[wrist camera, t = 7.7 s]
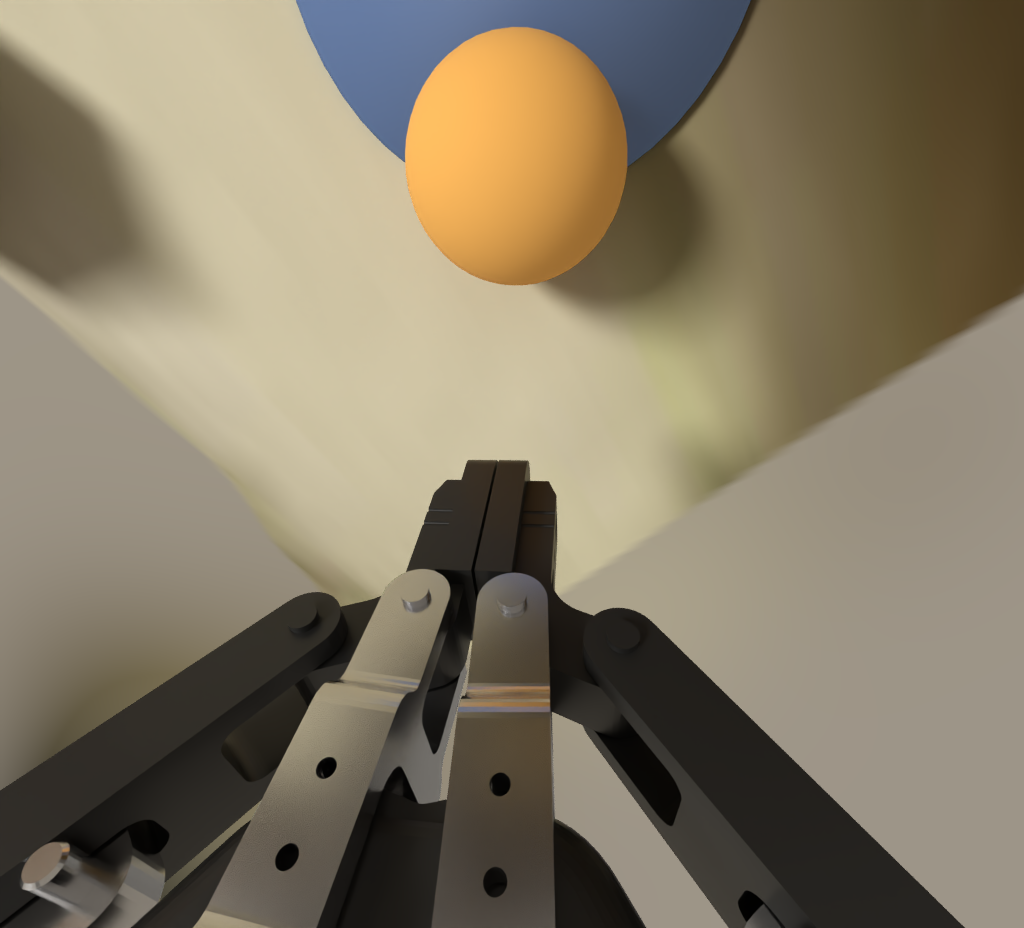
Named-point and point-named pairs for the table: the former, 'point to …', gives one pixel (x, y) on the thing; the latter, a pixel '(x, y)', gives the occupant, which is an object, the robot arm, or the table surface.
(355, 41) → the blue plate
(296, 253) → the table surface
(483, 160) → the ball
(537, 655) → the robot arm
